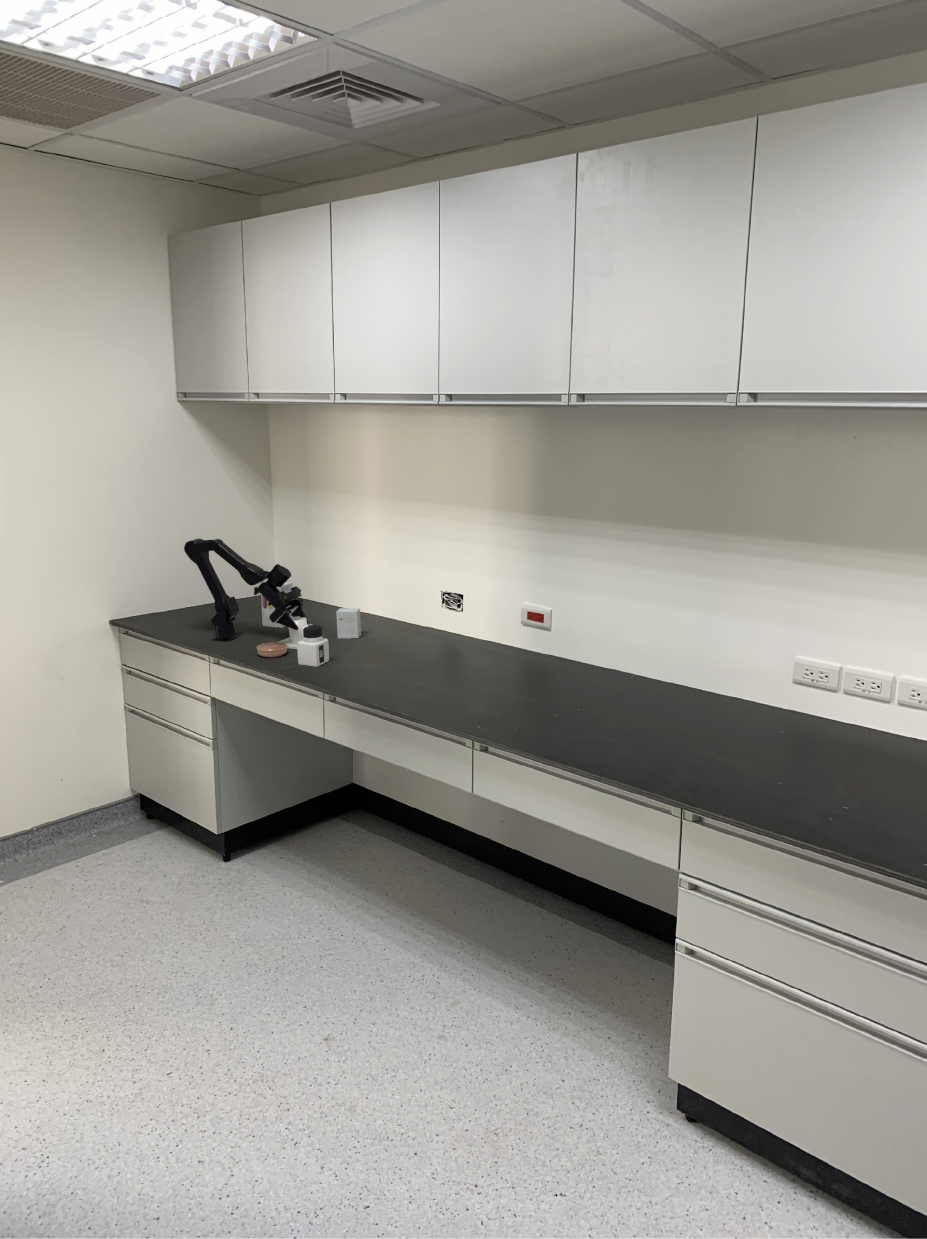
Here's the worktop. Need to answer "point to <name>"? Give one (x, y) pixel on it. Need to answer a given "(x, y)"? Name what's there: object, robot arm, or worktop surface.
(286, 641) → the mat
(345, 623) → the small box
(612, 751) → the worktop surface
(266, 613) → the supplement box
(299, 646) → the container
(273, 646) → the bowl
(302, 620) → the bottle
